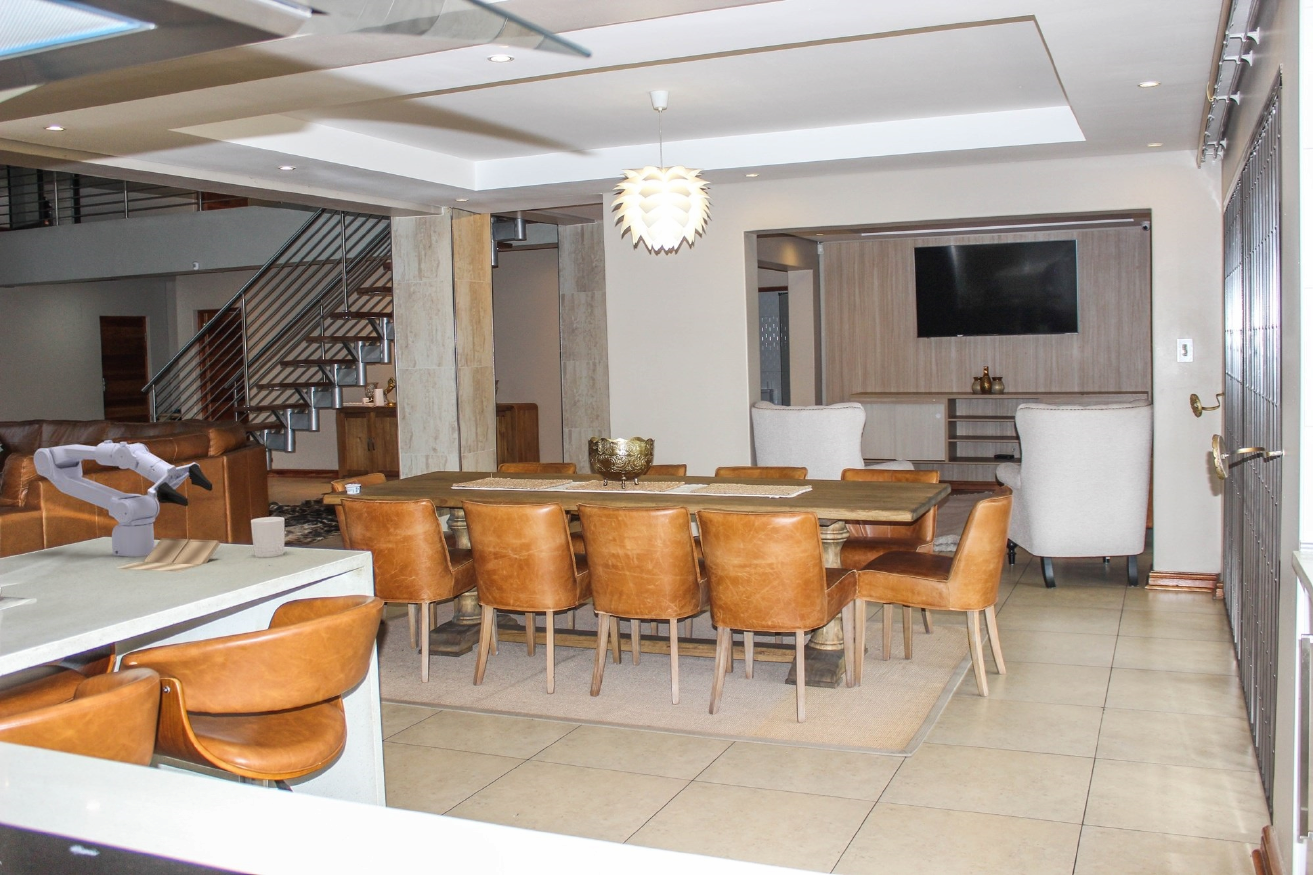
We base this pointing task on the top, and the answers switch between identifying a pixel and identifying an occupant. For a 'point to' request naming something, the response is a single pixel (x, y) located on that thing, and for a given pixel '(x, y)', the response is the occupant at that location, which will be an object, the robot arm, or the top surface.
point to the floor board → (158, 566)
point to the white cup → (268, 536)
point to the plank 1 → (167, 550)
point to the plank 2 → (197, 552)
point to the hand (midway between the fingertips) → (199, 495)
